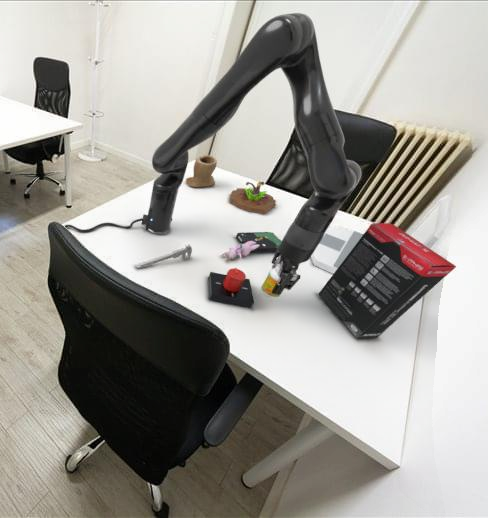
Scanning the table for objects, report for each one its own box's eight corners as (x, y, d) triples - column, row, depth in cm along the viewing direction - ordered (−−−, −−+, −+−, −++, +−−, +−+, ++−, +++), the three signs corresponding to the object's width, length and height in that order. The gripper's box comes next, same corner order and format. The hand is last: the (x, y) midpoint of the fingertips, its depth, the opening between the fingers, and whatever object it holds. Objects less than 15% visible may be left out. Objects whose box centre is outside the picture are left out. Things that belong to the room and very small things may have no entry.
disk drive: (247, 254, 106) (285, 252, 108) (250, 248, 104) (288, 246, 106) (234, 238, 114) (269, 236, 116) (236, 232, 112) (272, 230, 114)
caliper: (188, 257, 104) (192, 242, 100) (189, 258, 103) (194, 244, 99) (135, 267, 98) (138, 252, 94) (137, 269, 97) (139, 254, 93)
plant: (223, 204, 135) (231, 181, 128) (235, 189, 148) (242, 168, 141) (269, 218, 127) (280, 194, 120) (277, 201, 140) (287, 179, 132)
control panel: (209, 300, 88) (212, 293, 86) (207, 278, 95) (210, 271, 93) (250, 308, 86) (254, 301, 84) (246, 285, 93) (249, 278, 91)
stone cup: (193, 191, 144) (201, 162, 135) (182, 181, 153) (189, 152, 143) (220, 189, 147) (229, 160, 138) (208, 179, 156) (216, 151, 147)
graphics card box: (379, 340, 79) (463, 264, 61) (355, 341, 78) (433, 265, 61) (335, 294, 92) (394, 221, 74) (314, 294, 91) (369, 221, 74)
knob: (241, 293, 86) (247, 280, 83) (224, 290, 87) (229, 277, 84) (238, 281, 90) (244, 269, 87) (221, 279, 91) (227, 266, 87)
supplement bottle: (257, 285, 88) (270, 261, 82) (273, 284, 89) (288, 260, 82) (266, 298, 84) (281, 274, 78) (283, 298, 84) (299, 273, 78)
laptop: (327, 226, 123) (366, 166, 106) (398, 253, 110) (455, 189, 94) (302, 260, 105) (344, 193, 88) (383, 296, 92) (451, 227, 75)
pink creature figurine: (229, 267, 102) (263, 252, 105) (232, 255, 98) (267, 239, 101) (217, 257, 106) (250, 242, 109) (219, 245, 102) (253, 230, 105)
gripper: (279, 222, 80) (255, 268, 91) (292, 253, 69) (264, 301, 80) (308, 227, 79) (281, 273, 90) (326, 259, 68) (293, 307, 79)
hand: (273, 286), depth 85 cm, fingers closed on supplement bottle, 5 cm apart
